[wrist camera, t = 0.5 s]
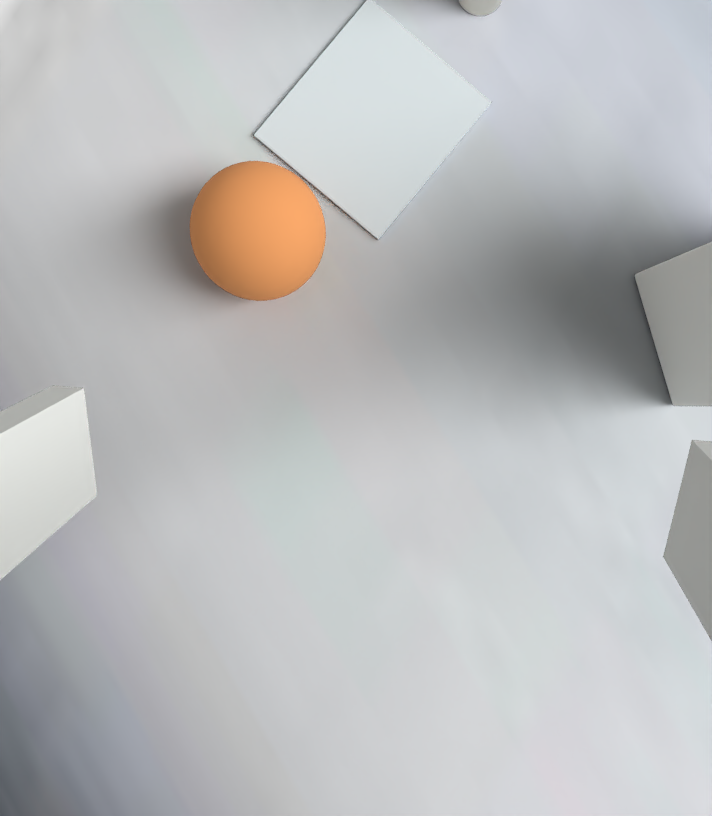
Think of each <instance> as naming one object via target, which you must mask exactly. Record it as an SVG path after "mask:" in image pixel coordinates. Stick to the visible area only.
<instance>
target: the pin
mask: <svg viewBox="0 0 712 816" xmlns="http://www.w3.org/2000/svg"><path fill="white" fill-rule="evenodd" d="M458 1H459V3H460V5H461V6H462V8H463V9H464V10H465V11H467V12H468V13H470V14H472V15H475V16H486V15H489V14H491V13H493V12H494V11H496V10H497V9H498V7H499V6H500V4H501V2H502V0H458Z"/></svg>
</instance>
